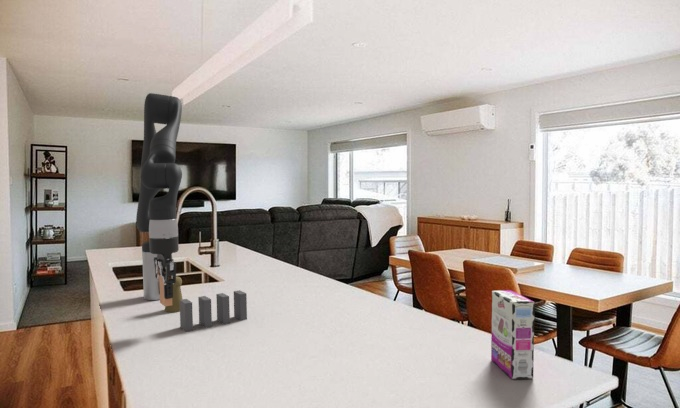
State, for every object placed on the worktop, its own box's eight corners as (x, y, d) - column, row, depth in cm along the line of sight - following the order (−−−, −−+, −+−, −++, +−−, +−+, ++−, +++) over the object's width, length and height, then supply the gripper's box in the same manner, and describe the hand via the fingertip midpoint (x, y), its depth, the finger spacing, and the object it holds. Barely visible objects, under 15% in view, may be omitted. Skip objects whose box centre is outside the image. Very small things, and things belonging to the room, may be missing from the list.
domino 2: (199, 323, 138) (198, 296, 138) (205, 322, 139) (205, 295, 139) (205, 327, 134) (204, 300, 134) (211, 326, 135) (211, 299, 135)
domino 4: (234, 316, 144) (233, 291, 144) (240, 315, 146) (239, 290, 145) (240, 320, 140) (240, 294, 140) (247, 319, 142) (246, 293, 141)
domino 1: (180, 327, 135) (179, 300, 134) (187, 325, 136) (186, 298, 136) (185, 331, 131) (185, 303, 130) (192, 330, 132) (192, 302, 131)
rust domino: (159, 302, 131) (158, 274, 131) (167, 301, 132) (166, 273, 132) (164, 306, 127) (163, 277, 127) (172, 305, 128) (171, 276, 128)
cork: (177, 313, 149) (176, 279, 149) (160, 312, 151) (159, 278, 150) (187, 307, 155) (186, 275, 155) (171, 307, 156) (170, 274, 156)
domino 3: (217, 320, 141) (216, 294, 141) (223, 318, 142) (222, 293, 142) (223, 324, 137) (222, 297, 137) (229, 322, 138) (229, 296, 138)
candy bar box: (535, 379, 97) (536, 301, 96) (512, 380, 96) (512, 302, 96) (511, 358, 108) (511, 288, 107) (490, 359, 108) (490, 289, 107)
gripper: (143, 234, 132) (145, 293, 133) (156, 239, 121) (158, 303, 122) (170, 232, 137) (172, 289, 138) (185, 236, 125) (187, 299, 126)
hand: (165, 296), depth 130 cm, fingers closed on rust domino, 5 cm apart
